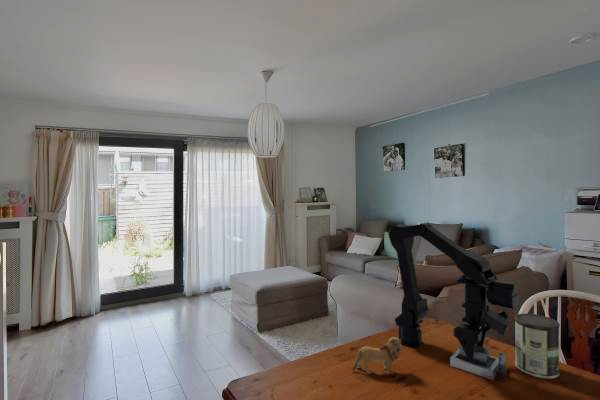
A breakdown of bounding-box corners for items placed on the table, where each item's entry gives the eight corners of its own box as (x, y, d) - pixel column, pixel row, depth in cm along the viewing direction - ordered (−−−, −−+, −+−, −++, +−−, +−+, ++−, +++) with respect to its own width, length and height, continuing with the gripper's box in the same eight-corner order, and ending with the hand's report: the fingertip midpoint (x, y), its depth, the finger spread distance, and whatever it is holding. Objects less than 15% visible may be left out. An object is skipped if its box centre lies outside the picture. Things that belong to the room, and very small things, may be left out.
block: (459, 363, 97) (459, 346, 97) (464, 358, 100) (464, 341, 100) (486, 371, 92) (486, 354, 92) (490, 366, 95) (490, 349, 95)
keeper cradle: (450, 365, 97) (450, 345, 97) (460, 354, 103) (460, 335, 103) (502, 383, 88) (502, 360, 87) (510, 369, 94) (510, 348, 94)
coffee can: (547, 361, 98) (547, 314, 98) (567, 380, 88) (567, 328, 88) (508, 358, 101) (508, 312, 100) (524, 377, 90) (524, 325, 90)
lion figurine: (398, 363, 98) (397, 333, 98) (405, 373, 93) (405, 341, 93) (349, 367, 97) (349, 336, 96) (354, 377, 91) (354, 344, 91)
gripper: (499, 316, 83) (499, 377, 84) (515, 298, 97) (515, 351, 97) (452, 306, 91) (452, 362, 91) (473, 291, 105) (473, 340, 105)
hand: (475, 354), depth 96 cm, fingers open, 9 cm apart
